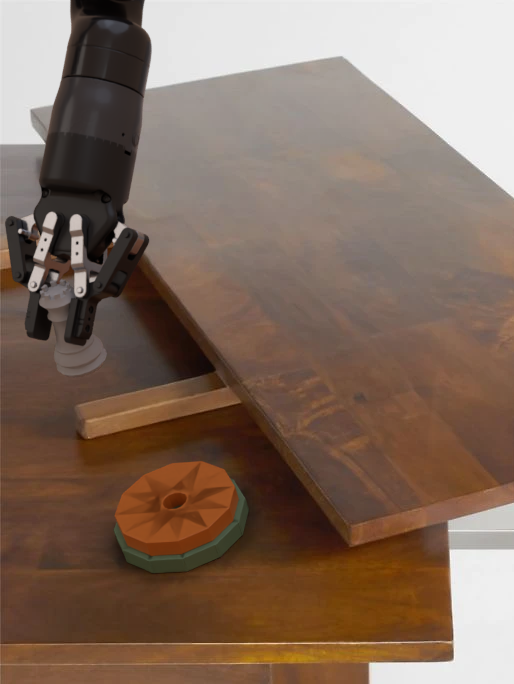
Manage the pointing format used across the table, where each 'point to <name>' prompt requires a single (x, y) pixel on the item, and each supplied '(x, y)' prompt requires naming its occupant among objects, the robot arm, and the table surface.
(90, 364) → the grey chess rook
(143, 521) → the ring stack
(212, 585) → the table surface
